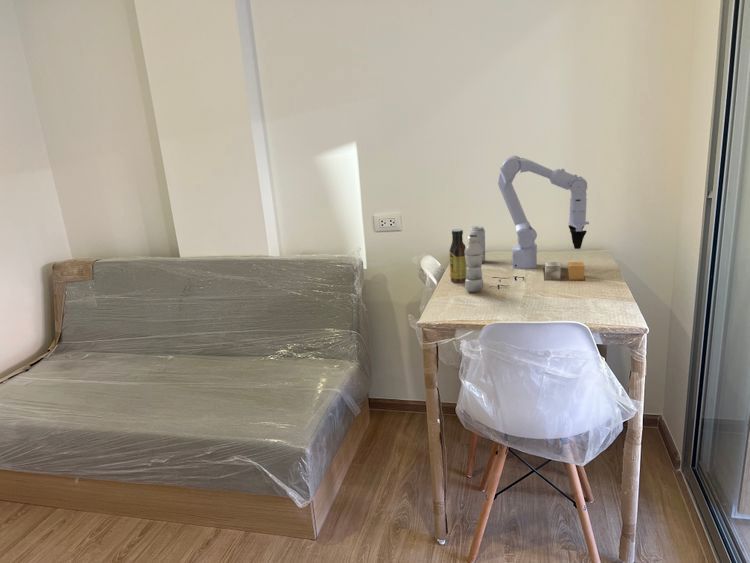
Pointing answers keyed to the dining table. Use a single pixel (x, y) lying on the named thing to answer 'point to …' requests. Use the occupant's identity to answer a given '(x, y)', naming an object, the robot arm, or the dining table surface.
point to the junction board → (562, 275)
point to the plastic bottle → (473, 264)
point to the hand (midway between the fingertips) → (576, 246)
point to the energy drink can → (481, 235)
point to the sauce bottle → (457, 257)
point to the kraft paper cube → (576, 270)
